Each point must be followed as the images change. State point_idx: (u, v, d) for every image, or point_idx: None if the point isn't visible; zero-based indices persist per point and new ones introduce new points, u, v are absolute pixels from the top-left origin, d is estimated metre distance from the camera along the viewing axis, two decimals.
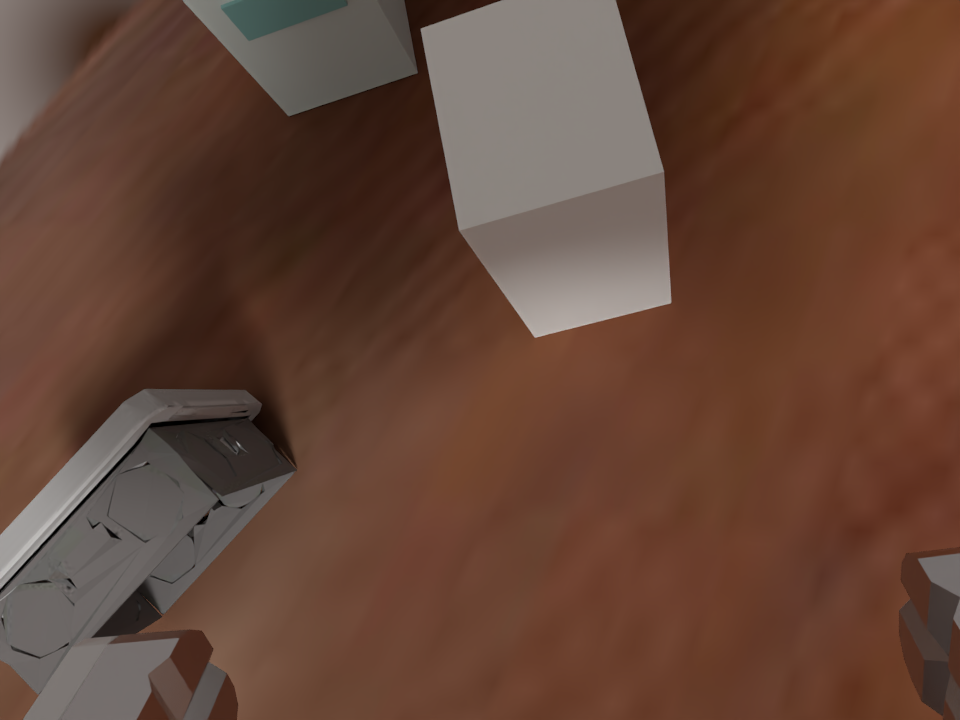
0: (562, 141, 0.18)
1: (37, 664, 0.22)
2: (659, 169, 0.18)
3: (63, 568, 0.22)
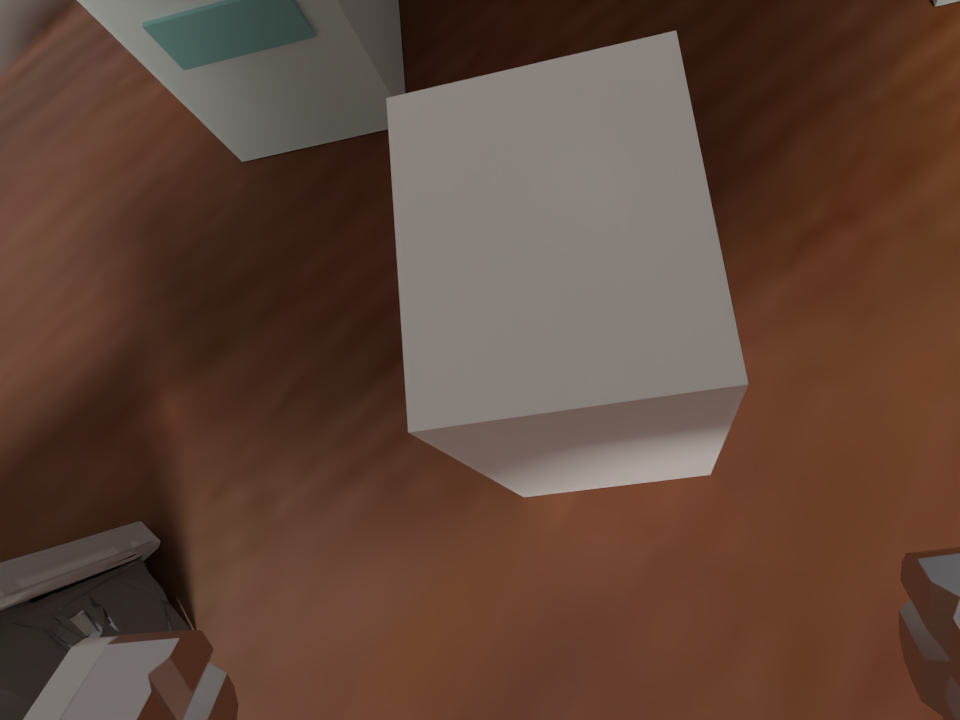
0: (584, 307, 0.11)
1: None
2: (741, 378, 0.11)
3: None
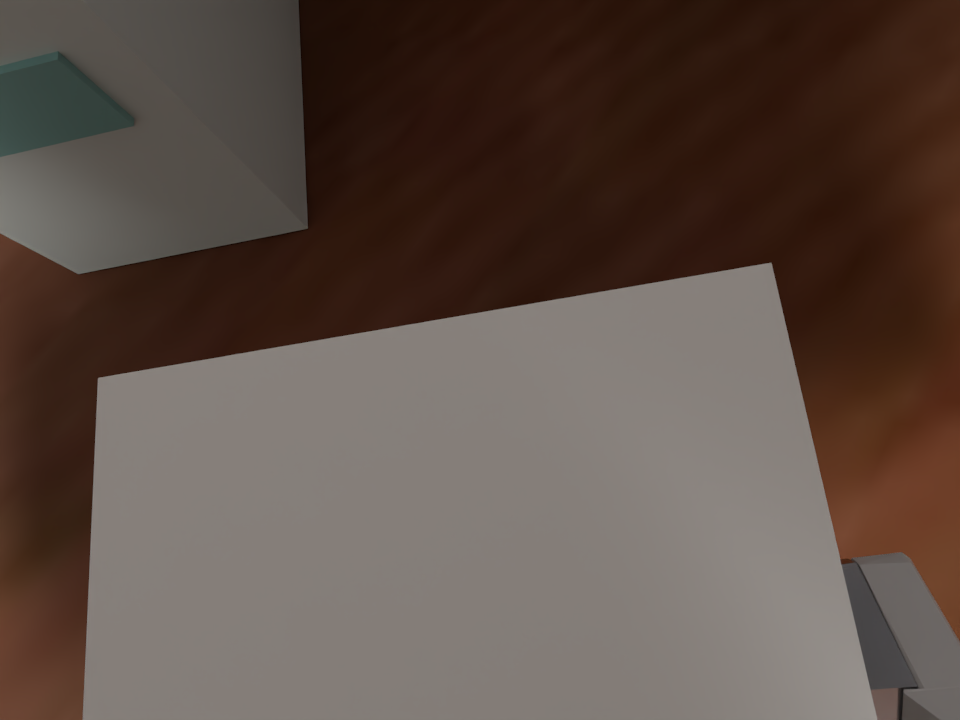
0: None
1: None
2: None
3: None
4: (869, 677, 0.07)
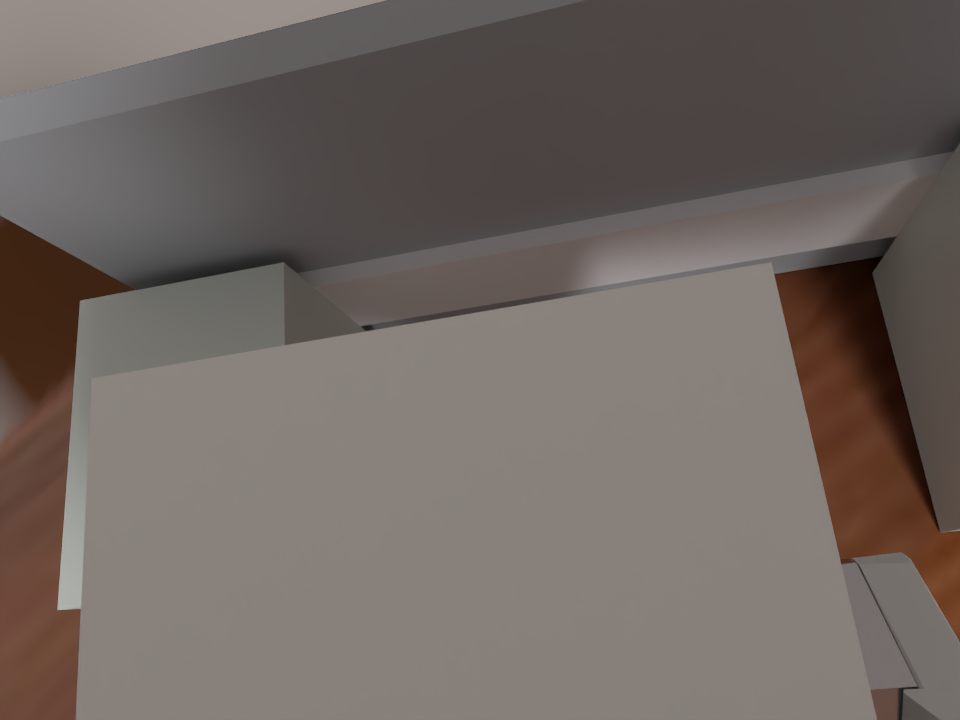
0: None
1: None
2: None
3: None
4: (869, 677, 0.07)
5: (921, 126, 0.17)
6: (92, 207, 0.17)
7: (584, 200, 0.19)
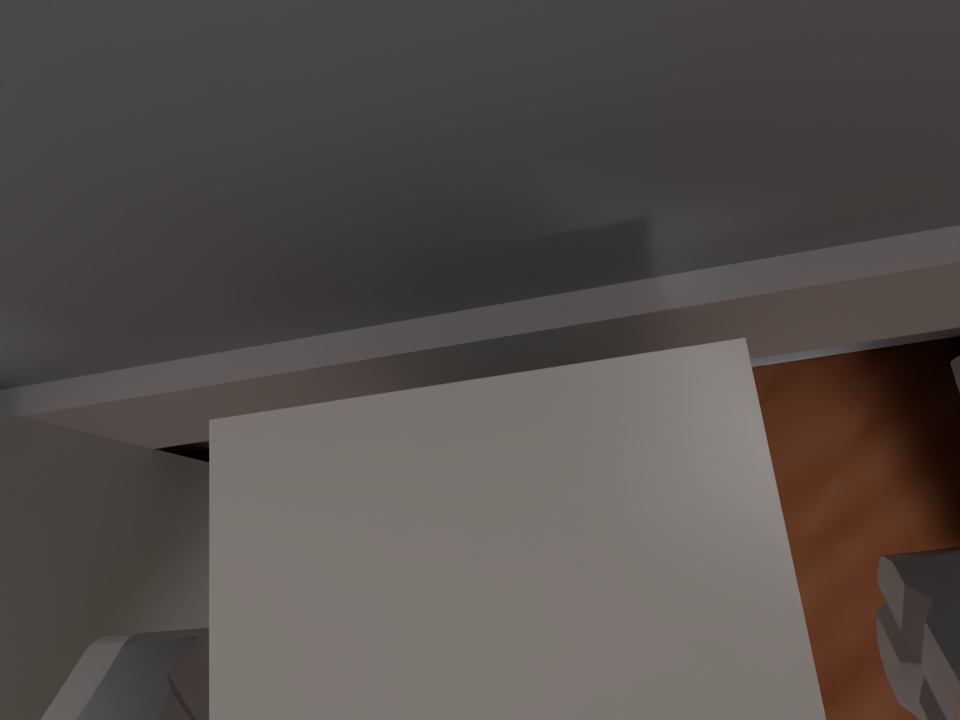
0: None
1: None
2: None
3: None
4: None
5: None
6: None
7: (471, 280, 0.10)
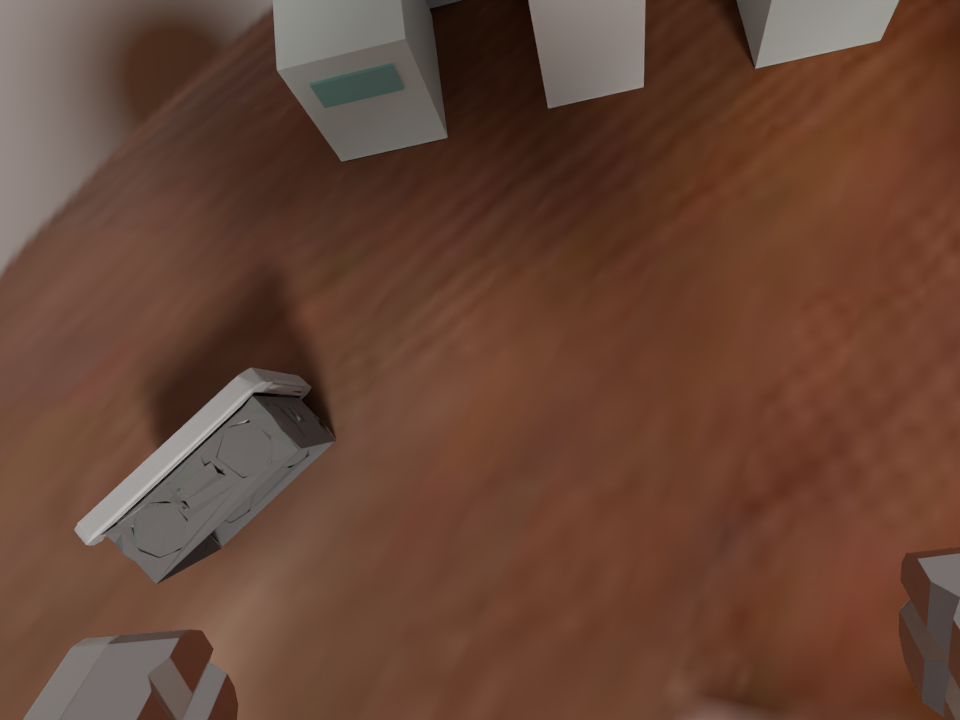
0: None
1: (156, 562, 0.30)
2: None
3: (180, 493, 0.30)
4: None
5: None
6: None
7: None
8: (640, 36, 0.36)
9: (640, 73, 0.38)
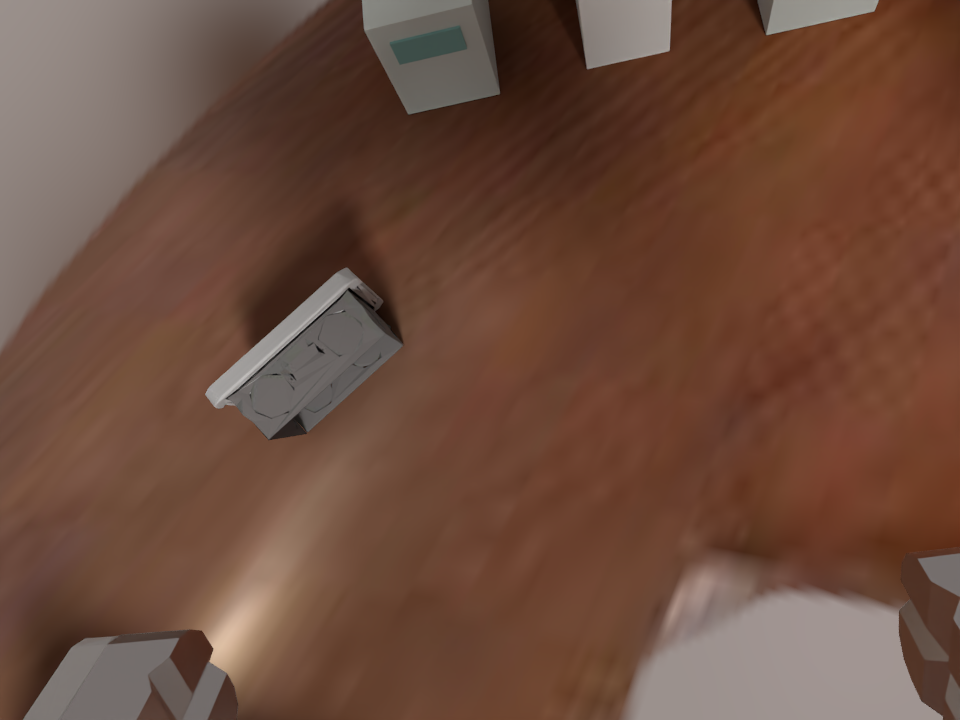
0: None
1: (269, 422, 0.37)
2: None
3: (289, 367, 0.37)
4: None
5: None
6: None
7: None
8: (667, 5, 0.42)
9: (667, 38, 0.45)
